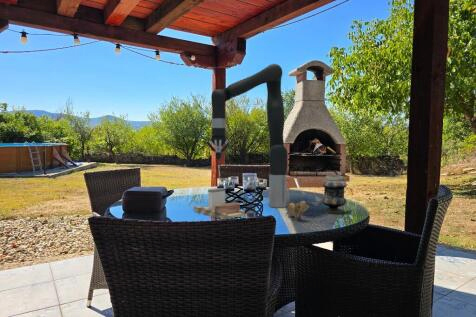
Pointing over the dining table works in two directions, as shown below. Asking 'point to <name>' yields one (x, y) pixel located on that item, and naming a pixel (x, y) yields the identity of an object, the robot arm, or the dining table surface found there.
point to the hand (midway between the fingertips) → (218, 159)
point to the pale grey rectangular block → (216, 197)
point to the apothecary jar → (334, 193)
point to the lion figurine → (297, 209)
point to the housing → (222, 211)
